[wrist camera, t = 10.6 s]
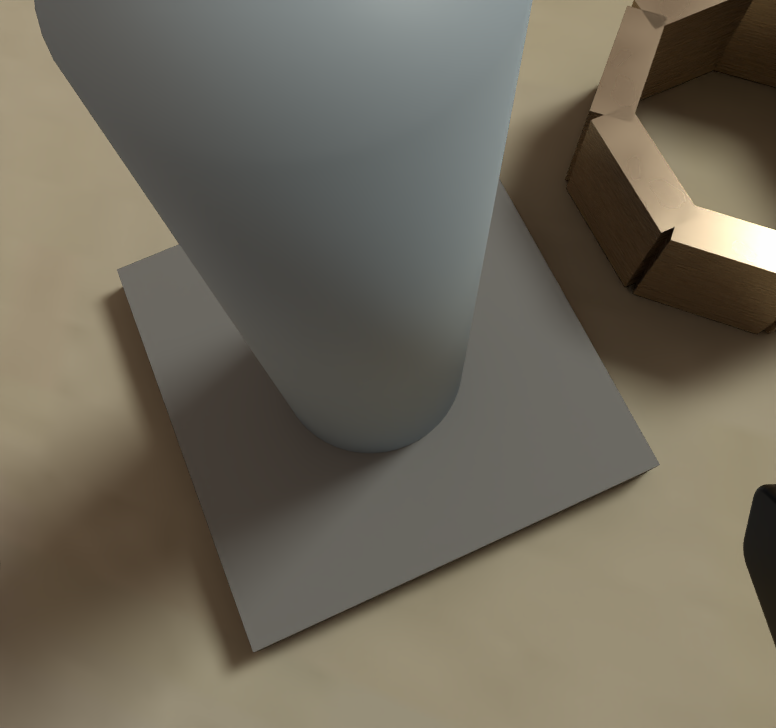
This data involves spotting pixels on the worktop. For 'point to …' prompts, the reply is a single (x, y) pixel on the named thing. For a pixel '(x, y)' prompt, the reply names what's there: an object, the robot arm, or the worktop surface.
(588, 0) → the worktop surface
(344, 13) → the slate peg
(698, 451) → the worktop surface
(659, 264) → the bronze collar
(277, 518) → the gray base plate
